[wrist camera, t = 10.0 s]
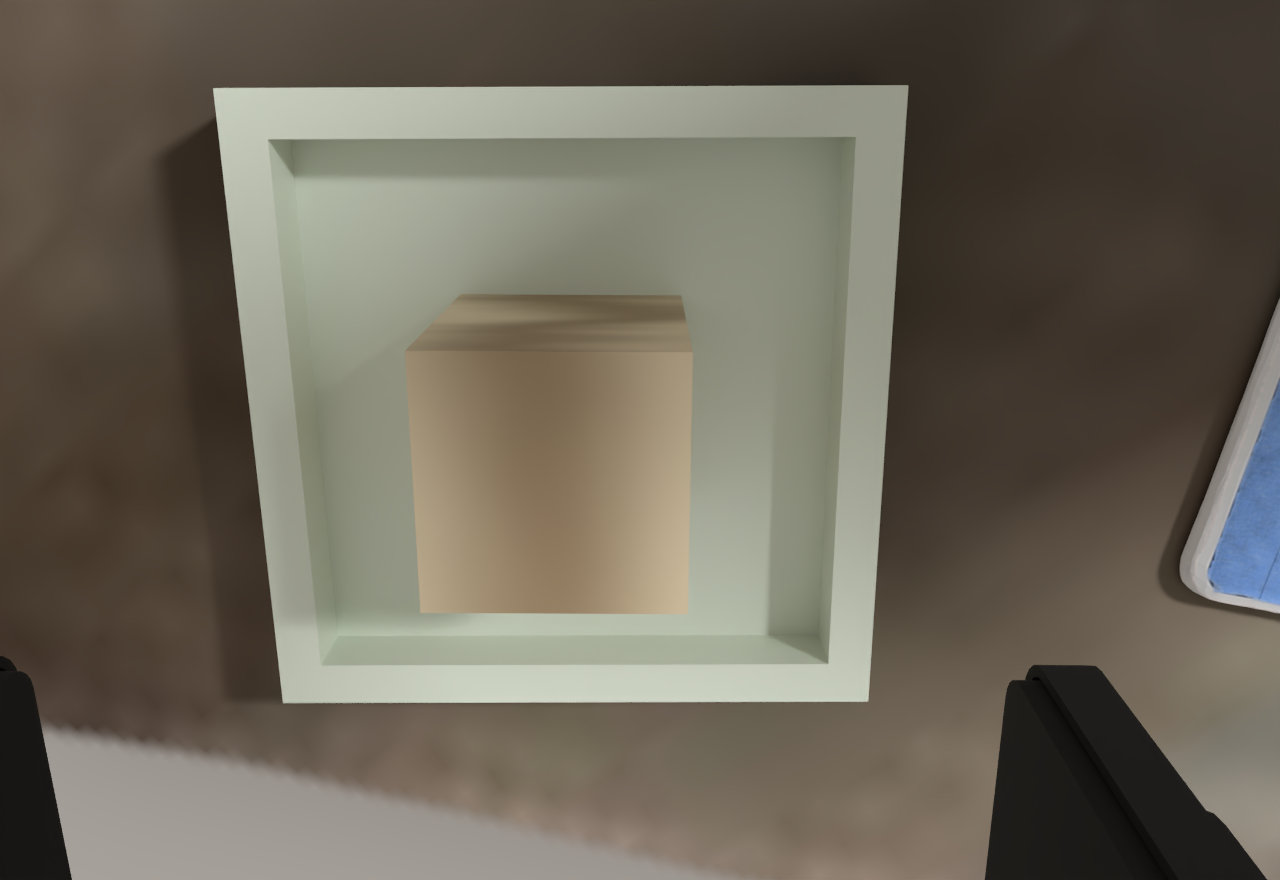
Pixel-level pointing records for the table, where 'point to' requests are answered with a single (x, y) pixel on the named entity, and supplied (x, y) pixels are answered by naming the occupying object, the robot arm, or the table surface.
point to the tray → (572, 265)
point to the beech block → (552, 454)
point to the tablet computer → (1244, 499)
